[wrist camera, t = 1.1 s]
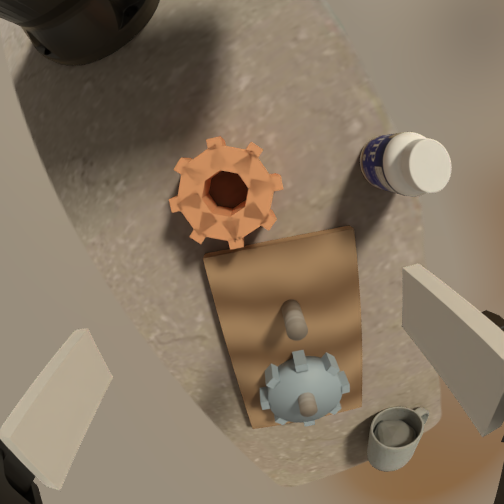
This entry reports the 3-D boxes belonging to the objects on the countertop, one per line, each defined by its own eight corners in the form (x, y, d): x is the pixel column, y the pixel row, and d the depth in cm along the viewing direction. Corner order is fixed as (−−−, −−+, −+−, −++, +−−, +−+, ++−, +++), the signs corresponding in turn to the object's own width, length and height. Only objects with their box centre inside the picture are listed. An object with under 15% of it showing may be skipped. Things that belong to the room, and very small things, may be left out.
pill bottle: (383, 125, 26) (432, 115, 17) (414, 166, 27) (468, 171, 18) (347, 159, 27) (387, 160, 18) (381, 200, 28) (428, 217, 19)
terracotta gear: (171, 153, 27) (158, 152, 22) (267, 132, 26) (270, 126, 22) (193, 244, 29) (183, 258, 25) (285, 226, 29) (292, 237, 24)
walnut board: (205, 253, 29) (194, 276, 24) (348, 225, 29) (371, 240, 23) (252, 420, 36) (253, 455, 30) (358, 399, 35) (371, 431, 29)
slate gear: (252, 359, 31) (252, 373, 29) (342, 340, 31) (348, 354, 28) (267, 418, 34) (268, 432, 31) (344, 402, 33) (349, 416, 31)
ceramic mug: (360, 446, 38) (374, 483, 31) (363, 414, 36) (380, 454, 29) (420, 426, 38) (438, 458, 31) (428, 392, 36) (452, 426, 28)
